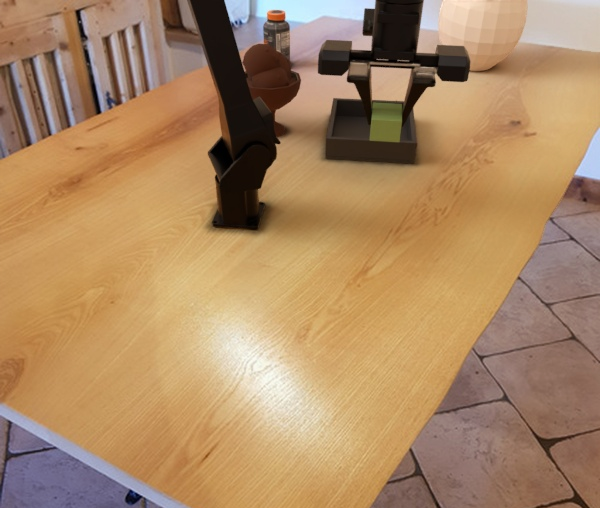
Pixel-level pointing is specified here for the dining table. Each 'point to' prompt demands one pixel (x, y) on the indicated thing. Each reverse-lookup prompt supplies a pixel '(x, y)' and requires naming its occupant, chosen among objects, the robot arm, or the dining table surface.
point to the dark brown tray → (366, 135)
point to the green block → (386, 122)
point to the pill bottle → (277, 32)
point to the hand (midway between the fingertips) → (385, 125)
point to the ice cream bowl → (271, 79)
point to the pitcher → (482, 28)
